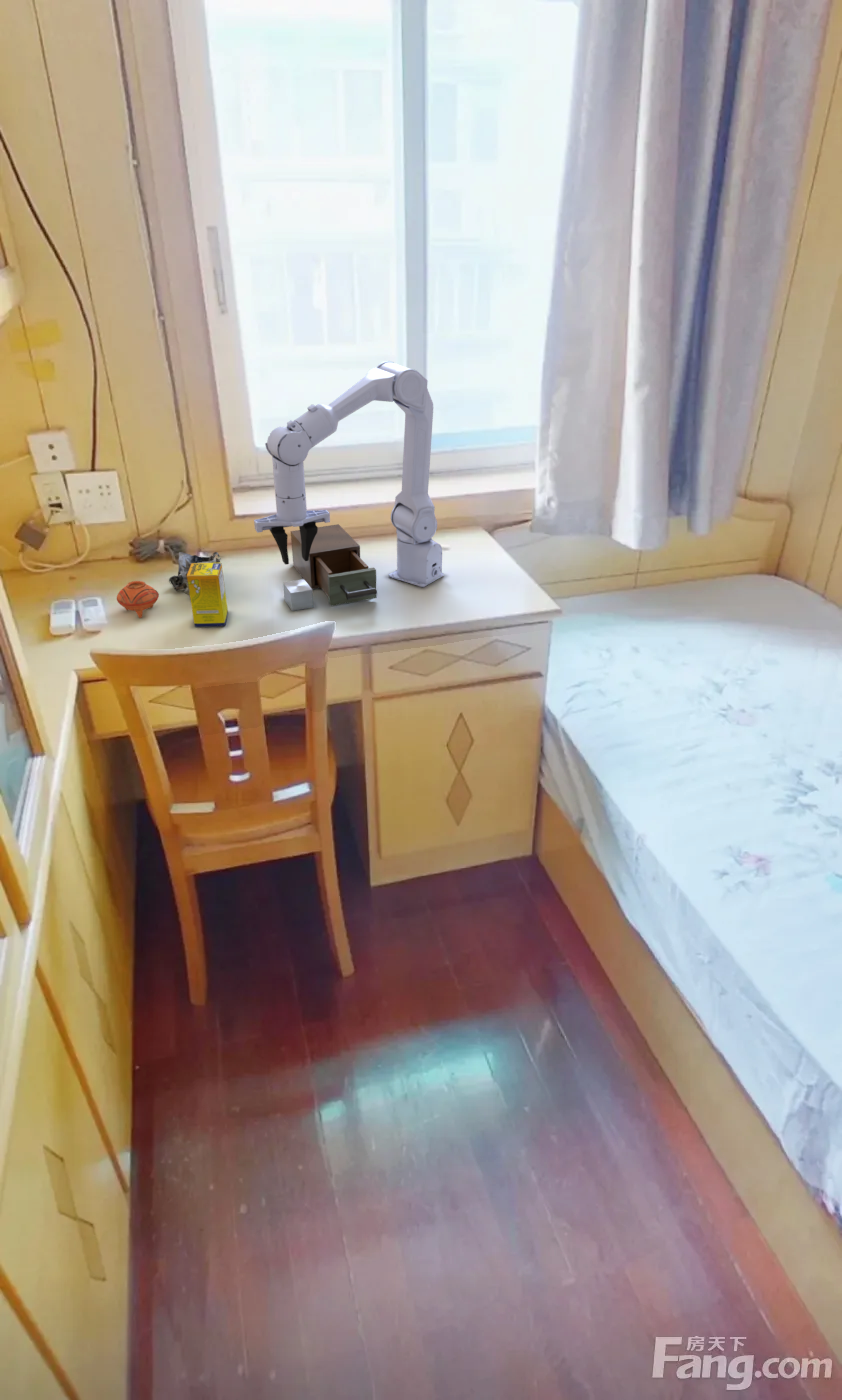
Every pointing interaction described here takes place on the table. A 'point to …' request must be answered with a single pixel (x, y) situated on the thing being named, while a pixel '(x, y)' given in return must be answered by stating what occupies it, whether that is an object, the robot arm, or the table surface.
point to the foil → (184, 565)
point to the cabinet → (321, 549)
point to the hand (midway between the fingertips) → (295, 560)
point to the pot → (137, 597)
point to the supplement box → (207, 594)
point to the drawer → (345, 577)
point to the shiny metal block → (298, 594)
